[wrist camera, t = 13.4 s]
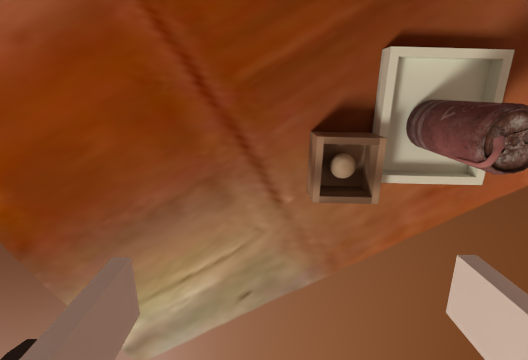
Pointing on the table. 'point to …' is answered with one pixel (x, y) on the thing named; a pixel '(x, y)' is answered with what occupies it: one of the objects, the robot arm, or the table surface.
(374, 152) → the square wooden box
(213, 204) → the table surface
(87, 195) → the table surface
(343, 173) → the cork ball
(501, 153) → the can
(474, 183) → the tray
